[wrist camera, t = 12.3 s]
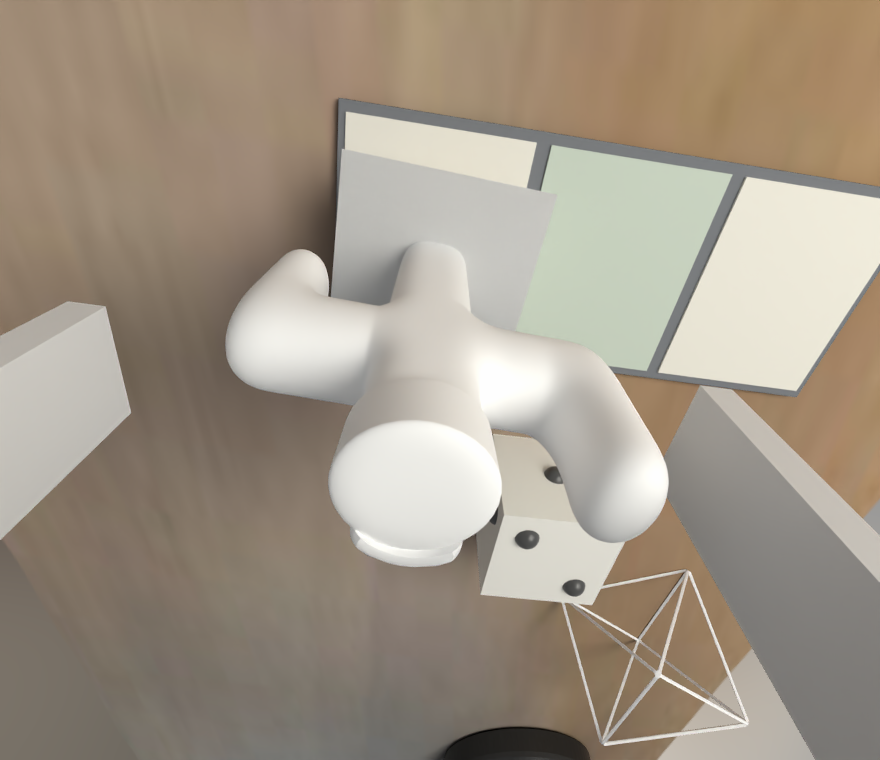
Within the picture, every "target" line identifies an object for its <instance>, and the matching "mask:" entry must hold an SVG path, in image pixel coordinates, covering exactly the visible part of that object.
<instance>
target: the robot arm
mask: <svg viewBox="0 0 880 760" xmlns="http://www.w3.org/2000/svg"><path fill="white" fill-rule="evenodd" d="M130 414H131V410H130V406H129V402H128V398H127V393H126V389H125V385H124V381H123V377H122V373H121V369H120V364H119V360H118V356H117V352H116V348H115V344H114V340H113V336H112V331H111V327H110V323H109V319H108V315H107V311H106V307H105V306H99V305H92V304H84V303H77V302H69V301H67V302H65V303H63V304H61V305H60V306H58V307H56V308H54V309H52V310H50V311H48V312H46V313H44V314H42V315H40V316H38V317H36V318H34V319H32V320H30V321H28V322H26V323H24V324H23V325H21V326H19V327H17V328H15V329H13V330H11V331H9V332H7V333H5V334H3V335H1V336H0V540H1V539H2V538H3V537H4V536H5V535H6V534H7V533H8V532H9V531H10V530H11V529H12V528H13V527H14V526H15V525H16V524H17V523H18V522H19V521H20V520H21V519H22V518H23V517H24V516H26V515H27V514H28V513H29V512H30V511H31V510H32V509H33V508H34V507H35V506H36V505H37V504H38V503H39V502H40V501H41V500H42V499H43V498H44V497H45V496H46V495H47V494H48V493H49V492H50V491H51V490H52V489H53V488H54V487H55V486H56V485H57V484H58V483H60V482H61V481H62V480H63V479H64V478H65V477H66V476H67V475H68V474H69V473H70V472H71V471H72V470H73V469H74V468H75V467H76V466H77V465H78V464H79V463H80V462H81V461H82V460H83V459H84V458H85V457H86V456H87V455H88V454H89V453H90V452H91V451H92V450H94V449H95V448H96V447H97V446H98V445H99V444H100V443H101V442H102V441H103V440H104V439H105V438H106V437H107V436H108V435H109V434H110V433H111V432H112V431H113V430H114V429H115V428H116V427H117V426H118V425H119V424H120V423H121V422H122V421H123V420H124V419H125V418H126V417H128V416H129V415H130ZM663 459H664V461H665V463H666V467H667V471H668V480H669V485H668V493H667V498H668V500H669V502H670V503H671V505H672V507H673V509H674V510H675V512H676V514H677V516H678V518H679V519H680V521H681V523H682V525H683V526H684V528H685V530H686V532H687V533H688V535H689V537H690V539H691V541H692V542H693V544H694V546H695V548H696V549H697V551H698V553H699V555H700V557H701V558H702V560H703V562H704V564H705V565H706V567H707V569H708V571H709V572H710V574H711V576H712V578H713V580H714V581H715V583H716V585H717V587H718V588H719V590H720V592H721V594H722V595H723V597H724V599H725V601H726V603H727V604H728V606H729V608H730V610H731V611H732V613H733V615H734V617H735V618H736V620H737V622H738V624H739V626H740V627H741V629H742V631H743V633H744V634H745V636H746V638H747V640H748V642H749V643H750V645H751V647H752V649H753V650H754V652H755V654H756V655H757V657H758V659H759V661H760V663H761V664H762V666H763V668H764V670H765V672H766V673H767V675H768V677H769V679H770V680H771V682H772V684H773V686H774V687H775V689H776V691H777V693H778V695H779V696H780V698H781V700H782V702H783V703H784V705H785V707H786V709H787V710H788V712H789V714H790V716H791V718H792V719H793V721H794V723H795V725H796V726H797V728H798V730H799V732H800V733H801V735H802V737H803V739H804V741H805V742H806V744H807V746H808V748H809V749H810V751H811V753H812V755H813V757H814V758H815V760H880V536H879V535H878V534H877V533H876V532H875V531H874V530H873V529H872V528H871V527H870V526H869V525H868V524H867V523H866V522H865V521H864V520H863V519H862V518H861V517H860V516H859V515H858V514H857V513H856V512H855V511H854V510H853V509H852V508H851V507H850V506H849V505H848V504H847V503H846V502H845V501H844V500H843V499H842V498H841V497H840V496H839V495H838V494H837V493H836V492H835V491H834V490H833V489H832V488H831V487H830V486H829V485H828V484H827V483H826V482H825V481H824V480H823V479H822V478H821V477H820V476H819V475H818V474H817V473H816V472H815V471H814V470H813V469H812V468H811V467H810V466H809V465H808V464H807V463H806V462H805V461H804V460H803V459H802V458H801V457H800V456H799V455H798V454H797V453H796V452H795V451H794V450H793V449H792V448H791V447H790V446H789V445H788V444H787V443H786V442H785V441H784V440H783V439H782V438H781V437H780V436H778V435H777V434H776V433H775V432H774V431H773V430H772V429H771V428H770V427H769V426H768V425H767V424H766V423H765V422H764V421H763V420H762V419H761V418H760V417H759V416H758V415H757V414H756V413H755V412H754V411H753V410H752V409H751V408H750V407H749V406H748V405H747V404H746V403H745V402H744V401H743V400H742V399H741V398H740V397H739V396H738V395H737V394H736V393H735V392H734V391H733V390H732V389H724V388H716V387H709V386H701V385H700V387H699V389H698V391H697V393H696V395H695V397H694V399H693V401H692V403H691V405H690V407H689V409H688V411H687V413H686V415H685V417H684V419H683V420H682V422H681V424H680V426H679V428H678V430H677V432H676V434H675V436H674V438H673V440H672V442H671V444H670V446H669V448H668V450H667V452H666V454H665V456H664V458H663ZM444 760H590V756H589V752H588V750H587V749H586V748H585V746H583V745H582V744H581V743H580V742H578V741H577V740H575V739H573V738H571V737H568V736H566V735H563V734H559V733H556V732H551V731H546V730H538V729H502V730H494V731H489V732H484V733H480V734H476V735H473V736H470V737H468V738H465V739H463V740H461V741H459V742H458V743H456V744H454V745H453V746H452V747H451V748H450V749H449V750H448V751H447V753H446V754H445V757H444Z"/></svg>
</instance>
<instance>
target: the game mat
mask: <svg viewBox="0 0 880 760" xmlns="http://www.w3.org/2000/svg"><path fill="white" fill-rule="evenodd" d="M342 149H346V150H351V151H355V152H360V153H365V154H369V155H374V156H379V157H383V158H388V159H393V160H397V161H402V162H407V163H411V164H416V165H421V166H425V167H430V168H435V169H439V170H444V171H449V172H454V173H458V174H463V175H468V176H472V177H477V178H482V179H486V180H491V181H496V182H500V183H505V184H510V185H514V186H519V187H524V188H528V189H533V190H538V191H542V192H547V193H552V194H556V195H557V198H556V202H555V205H554V208H553V211H552V215H551V218H550V221H549V224H548V228H547V231H546V234H545V237H544V240H543V244H542V247H541V250H540V253H539V257H538V260H537V263H536V266H535V270H534V273H533V276H532V279H531V282H530V286H529V289H528V292H527V295H526V299H525V302H524V305H523V308H522V312H521V315H520V318H519V321H518V324H517V328H516V331H517V332H522V333H527V334H533V335H538V336H544V337H549V338H554V339H560V340H565V341H569V342H573V343H576V344H579V345H582V346H584V347H586V348H588V349H590V350H591V351H593V352H594V353H595V354H597V355H598V356H599V357H600V358H601V359H602V360H603V361H604V362H605V363H606V364H607V366H608V367H609V368H610V369H611V370H612V372H613V373H618V374H626V375H633V376H641V377H649V378H656V379H664V380H671V381H679V382H686V383H694V384H701V385H709V386H716V387H724V388H732V389H739V390H747V391H754V392H762V393H769V394H777V395H784V396H792V397H797V396H798V394H799V393H800V391H801V389H802V388H803V386H804V385H805V383H806V382H807V380H808V379H809V377H810V376H811V374H812V373H813V371H814V370H815V368H816V367H817V365H818V364H819V362H820V361H821V359H822V358H823V356H824V355H825V353H826V352H827V350H828V349H829V347H830V345H831V344H832V342H833V341H834V339H835V338H836V336H837V335H838V333H839V332H840V330H841V329H842V327H843V326H844V324H845V323H846V321H847V320H848V318H849V317H850V315H851V314H852V312H853V311H854V309H855V308H856V306H857V305H858V303H859V302H860V300H861V298H862V297H863V295H864V294H865V292H866V291H867V289H868V288H869V286H870V285H871V283H872V282H873V280H874V279H875V277H876V276H877V274H878V273H879V271H880V187H878V186H872V185H866V184H860V183H854V182H848V181H842V180H835V179H829V178H823V177H817V176H811V175H805V174H799V173H793V172H787V171H781V170H775V169H769V168H763V167H756V166H750V165H744V164H738V163H732V162H726V161H720V160H714V159H708V158H702V157H696V156H690V155H683V154H677V153H671V152H665V151H659V150H653V149H647V148H641V147H635V146H629V145H623V144H617V143H611V142H604V141H598V140H592V139H586V138H580V137H574V136H568V135H562V134H556V133H550V132H544V131H538V130H532V129H525V128H519V127H513V126H507V125H501V124H495V123H489V122H483V121H477V120H471V119H465V118H459V117H453V116H446V115H440V114H434V113H428V112H422V111H416V110H410V109H404V108H398V107H392V106H386V105H380V104H374V103H367V102H361V101H355V100H349V99H343V98H339V109H338V153H337V196H336V221H337V208H338V194H339V181H340V168H341V154H342Z"/></svg>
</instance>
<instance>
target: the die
mask: <svg viewBox="0 0 880 760" xmlns="http://www.w3.org/2000/svg"><path fill="white" fill-rule="evenodd" d="M493 441H494V446H495V451H496V456H497V460H498V465H499V470H500V475H501V480H502V494H501V498H500V502H499V505H498V507H497V509H496V511H495V513H494V515H493V516H492V518H491V519H490V520H489V522H488V523H487V524H486V525H485V526H484V527H483V528H482V529H480V530H479V531H478V532H477V533H476V537H477V551H478V566H479V581H480V595H490V596H501V597H511V598H522V599H532V600H543V601H554V602H564V603H575V604H585V605H592V604H593V603H594V601H595V599H596V597H597V595H598V593H599V591H600V589H601V587H602V585H603V583H604V581H605V579H606V577H607V576H608V574H609V572H610V570H611V568H612V566H613V564H614V562H615V560H616V558H617V556H618V554H619V552H620V550H621V548H622V547H623V545H624V543H625V542H618V543H607V542H603V541H599V540H597V539H595V538H593V537H591V536H590V535H589V534H588V533H586V532H585V531H584V530H583V529H582V527H581V526H580V525H579V523H578V521H577V520H576V518H575V516H574V514H573V511H572V509H571V506H570V503H569V499H568V496H567V493H566V490H565V486H564V483H563V481H562V478H561V475H560V473H559V470H558V468H557V466H556V464H555V462H554V461H553V459H552V457H551V456H550V454H549V453H548V452H547V450H546V449H545V448H544V447H543V446H542V445H541V444H540V443H539V442H538V441H537V440H536V439H534V438H525V437H517V436H508V435H499V434H493Z"/></svg>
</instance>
